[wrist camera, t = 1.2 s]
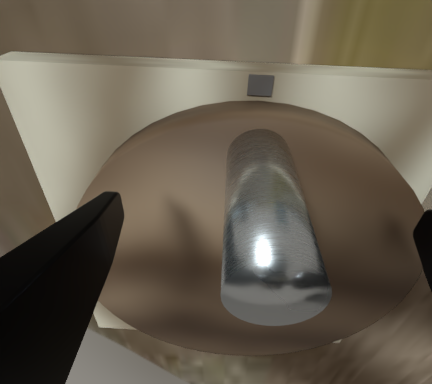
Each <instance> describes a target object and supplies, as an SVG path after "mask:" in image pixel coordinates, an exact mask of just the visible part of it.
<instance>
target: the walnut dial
mask: <svg viewBox="0 0 432 384" xmlns="http://www.w3.org/2000/svg"><path fill="white" fill-rule="evenodd" d="M105 191H114V192H118V193H120V195H121V200H122V204H123V209H124V222H123V226H122V229H121V233H120V237H119V241H118V245H117V248H116V252H115V256H114V260H113V263H112V266H111V269H110V271H109V274H108V276H107V279H106V282H105V284H104V287H103V289H102V292H101V294H100V297H99V299H98V301H99V302H100V303H101V304H102V305H103V306H104V307H105V308H106V309H108V310H109V311H110V312H111V313H112V314H114V315H115V316H116V317H118V318H119V319H121V320H122V321H124V322H125V323H127V324H128V325H130V326H132V327H134V328H135V329H137V330H139V331H141V332H143V333H145V334H147V335H150V336H152V337H154V338H157V339H159V340H162V341H165V342H167V343H170V344H174V345H177V346H181V347H184V348H188V349H193V350H197V351H203V352H209V353H215V354H225V355H241V356H259V355H275V354H284V353H291V352H298V351H302V350H307V349H312V348H316V347H319V346H323V345H326V344H330V343H332V342H335V341H338V340H340V339H343V338H346V337H348V336H350V335H352V334H354V333H357V332H359V331H361V330H363V329H364V328H366V327H368V326H370V325H371V324H373V323H375V322H376V321H378V320H379V319H380V318H382V317H383V316H385V315H386V314H387V313H389V312H390V311H391V310H392V309H393V308H394V307H395V306H397V305H398V304H399V303H400V302H401V301H402V300H403V298H404V297H405V296H406V295H407V294H408V293H409V291H410V290H411V289H412V287H413V286H414V284H415V283H416V281H417V279H418V278H419V276H420V274H421V271H422V269H423V267H422V264H421V260H420V257H419V254H418V251H417V248H416V245H415V242H414V239H413V230H414V228H415V226H416V225H417V223H418V221H419V220H420V218H421V216H422V215H423V213H424V209H423V207H422V205H421V203H420V201H419V200H418V198H417V196H416V194H415V192H414V190H413V189H412V188H411V187H410V185H409V184H408V183H407V182H406V180H405V179H404V178H403V177H402V175H401V174H400V173H399V172H398V170H397V169H396V168H395V167H394V166H393V164H392V163H391V162H390V161H389V159H388V158H387V157H386V156H385V155H384V153H383V152H382V151H381V150H380V149H379V148H378V147H377V146H376V145H375V144H374V143H372V142H371V141H370V140H369V139H368V138H366V137H365V136H364V135H363V134H362V133H360V132H358V131H357V130H355V129H353V128H352V127H350V126H348V125H347V124H345V123H343V122H341V121H340V120H337V119H335V118H332V117H330V116H327V115H325V114H322V113H320V112H317V111H315V110H311V109H307V108H303V107H299V106H295V105H291V104H285V103H276V102H267V101H227V102H220V103H214V104H207V105H201V106H197V107H194V108H190V109H187V110H183V111H180V112H176V113H174V114H172V115H169V116H167V117H165V118H162V119H160V120H158V121H156V122H153V123H151V124H150V125H148V126H147V127H145V128H143V129H142V130H140V131H139V132H137V133H135V134H134V135H132V136H131V137H130V138H129V139H127V140H126V141H125V142H124V143H123V144H122V145H121V146H119V147H118V148H117V149H116V150H115V151H114V152H113V153H112V155H111V156H110V157H109V158H108V160H107V161H106V162H105V163H104V164H103V166H102V167H101V169H100V170H99V172H98V173H97V175H96V176H95V178H94V179H93V181H92V182H91V184H90V185H89V187H88V188H87V189H86V191H85V193H84V195H83V197H82V198H81V200H80V202H79V204H78V206H77V208H76V209H78V208H79V207H81V206H82V205H84V204H85V203H87V202H89V201H90V200H92V199H93V198H95V197H96V196H98V195H100V194H101V193H103V192H105Z"/></svg>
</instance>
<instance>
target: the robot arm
mask: <svg viewBox="0 0 432 384" xmlns="http://www.w3.org/2000/svg"><path fill="white" fill-rule="evenodd" d="M123 222H124V209H123V204H122V200H121V195H120V193H118V192H114V191H105V192H103V193H101V194H100V195H98V196H96V197H95V198H93V199H92V200H90V201H89V202H87V203H85V204H84V205H82V206H81V207H79V208H78V209H76V210H74V211H73V212H71V213H70V214H68V215H67V216H65V217H63V218H62V219H60V220H59V221H57V222H56V223H54V224H52V225H51V226H49V227H48V228H46V229H45V230H43V231H41V232H40V233H38V234H37V235H35V236H33V237H32V238H30V239H29V240H27V241H26V242H24V243H22V244H21V245H19V246H18V247H16V248H15V249H13V250H11V251H10V252H8V253H7V254H5V255H4V256H2V257H0V384H65V382H66V380H67V378H68V375H69V372H70V370H71V367H72V365H73V362H74V360H75V357H76V355H77V352H78V350H79V347H80V345H81V342H82V340H83V337H84V334H85V332H86V330H87V327H88V325H89V322H90V319H91V317H92V314H93V312H94V309H95V307H96V304H97V302H98V299H99V297H100V294H101V292H102V289H103V287H104V284H105V282H106V279H107V276H108V274H109V271H110V269H111V266H112V263H113V260H114V256H115V252H116V248H117V245H118V241H119V237H120V233H121V229H122V226H123ZM413 239H414V242H415V245H416V248H417V251H418V254H419V257H420V260H421V264H422V267H423V270H424V273H425V276H426V279H427V281H428V284H429V287H430V289H431V291H432V210H427V211H425V212H424V213H423V215H422V216H421V218H420V220H419V221H418V223H417V225H416V226H415V228H414V230H413Z"/></svg>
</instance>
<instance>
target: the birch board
mask: <svg viewBox="0 0 432 384" xmlns="http://www.w3.org/2000/svg"><path fill="white" fill-rule="evenodd" d="M0 87H1V89H2V92H3V94H4V97H5V99H6V102H7V104H8V106H9V109H10V111H11V114H12V116H13V119H14V121H15V124H16V126H17V128H18V131H19V133H20V136H21V138H22V141H23V143H24V145H25V148H26V150H27V153H28V155H29V158H30V160H31V162H32V165H33V167H34V170H35V172H36V175H37V177H38V179H39V182H40V184H41V187H42V189H43V192H44V194H45V197H46V199H47V201H48V204H49V206H50V209H51V211H52V214H53V216H54V218H55V221H56V222H57V221H59V220H60V219H62V218H63V217H65V216H67V215H68V214H70V213H71V212H73V211H74V210H76V208H77V206H78V204H79V202H80V200H81V198H82V197H83V195H84V193H85V191H86V189H87V188H88V187H89V185H90V184H91V182H92V181H93V179H94V178H95V176H96V175H97V173H98V172H99V170H100V169H101V167H102V166H103V164H104V163H105V162H106V161H107V160H108V158H109V157H110V156H111V155H112V153H113V152H114V151H115V150H116V149H117V148H118V147H119V146H121V145H122V144H123V143H124V142H125V141H126V140H127V139H129V138H130V137H131V136H132V135H134V134H135V133H137V132H139V131H140V130H142V129H143V128H145V127H147V126H148V125H150V124H151V123H153V122H156V121H158V120H160V119H162V118H165V117H167V116H169V115H172V114H174V113H176V112H180V111H183V110H187V109H190V108H194V107H197V106H201V105H207V104H214V103H220V102H227V101H267V102H276V103H285V104H291V105H295V106H299V107H303V108H307V109H311V110H315V111H317V112H320V113H322V114H325V115H327V116H330V117H332V118H335V119H337V120H340V121H341V122H343V123H345V124H347V125H348V126H350V127H352V128H353V129H355V130H357V131H358V132H360V133H362V134H363V135H364V136H365V137H366V138H368V139H369V140H370V141H371V142H372V143H374V144H375V145H376V146H377V147H378V148H379V149H380V150H381V151H382V152H383V153H384V155H385V156H386V157H387V158H388V159H389V161H390V162H391V163H392V164H393V166H394V167H395V168H396V169H397V170H398V172H399V173H400V174H401V175H402V177H403V178H404V179H405V180H406V182H407V183H408V184H409V185H410V187H411V188H412V189H413V190H414V192H415V194H416V196H417V198H418V200H419V201H420V203H421V205H422V203H423V201H424V199H425V198H426V196H427V194H428V193H429V191H430V189H431V188H432V70H415V69H393V68H371V67H348V66H326V65H303V64H281V63H259V62H236V61H214V60H191V59H169V58H147V57H124V56H102V55H79V54H57V53H35V52H9V53H6V54H4V55H1V56H0ZM93 313H94V316H95V318H96V321H97V323H98V325H99V327H104V328H119V329H134V330H137V329H135V328H134V327H132V326H130V325H128V324H127V323H125V322H124V321H122V320H121V319H119V318H118V317H116V316H115V315H114V314H112V313H111V312H110V311H109V310H108V309H106V308H105V307H104V306H103V305H102V304H101V303H100V302H99V301H98V302H97V304H96V307H95V309H94V312H93ZM341 340H342V339H340V340H338V341H335V342H332V343H340V342H341Z"/></svg>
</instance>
